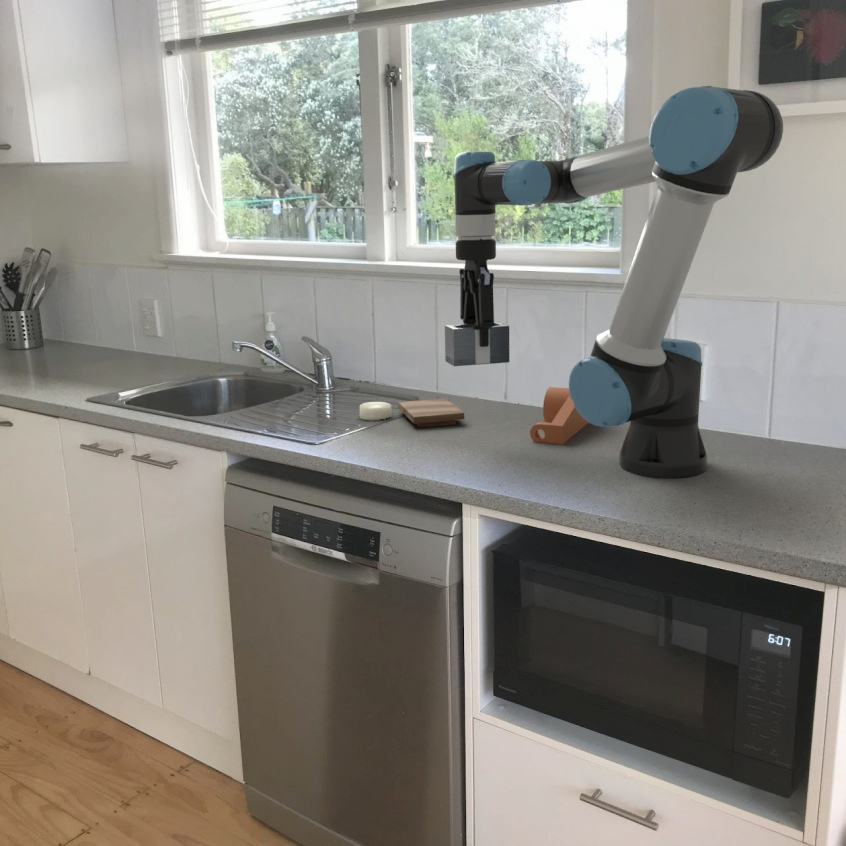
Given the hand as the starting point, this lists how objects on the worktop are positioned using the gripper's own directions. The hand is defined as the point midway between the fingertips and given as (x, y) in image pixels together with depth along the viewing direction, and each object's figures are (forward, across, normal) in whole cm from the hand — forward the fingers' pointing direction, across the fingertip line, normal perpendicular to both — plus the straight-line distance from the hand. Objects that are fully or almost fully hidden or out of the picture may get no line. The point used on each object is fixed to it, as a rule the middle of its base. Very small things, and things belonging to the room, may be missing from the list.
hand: (477, 360), depth 177 cm
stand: (+17, +22, +4) cm, 28 cm away
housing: (0, 0, 0) cm, 0 cm away
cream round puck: (+17, +28, +15) cm, 36 cm away
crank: (+17, +4, -19) cm, 26 cm away
